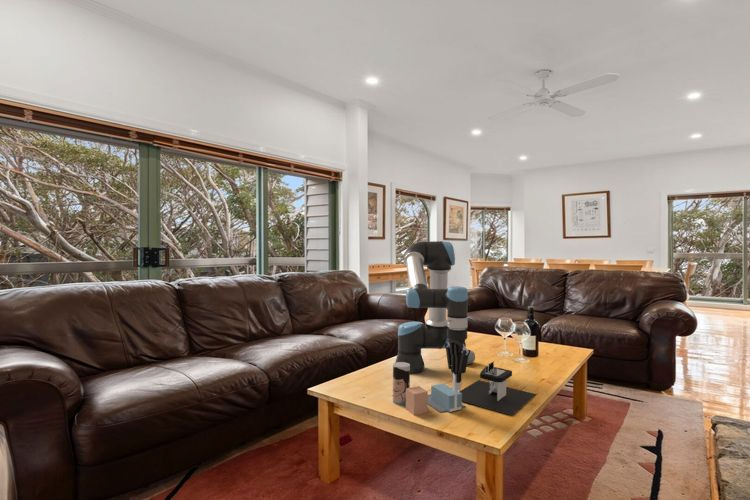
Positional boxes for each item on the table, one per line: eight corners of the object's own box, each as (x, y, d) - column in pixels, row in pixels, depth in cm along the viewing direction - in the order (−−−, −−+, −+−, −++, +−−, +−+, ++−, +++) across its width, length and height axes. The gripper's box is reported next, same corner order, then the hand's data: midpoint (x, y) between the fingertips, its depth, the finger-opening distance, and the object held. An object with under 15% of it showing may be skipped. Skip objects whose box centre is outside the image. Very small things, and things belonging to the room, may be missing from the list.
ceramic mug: (476, 364, 212) (476, 349, 211) (465, 367, 207) (465, 352, 207) (460, 359, 220) (460, 345, 220) (450, 362, 215) (450, 348, 215)
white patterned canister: (392, 398, 166) (392, 362, 165) (409, 398, 166) (409, 362, 165) (393, 404, 159) (393, 367, 159) (410, 405, 159) (410, 367, 158)
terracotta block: (405, 409, 155) (405, 388, 155) (419, 406, 158) (419, 386, 157) (413, 415, 150) (413, 394, 149) (427, 412, 152) (427, 391, 152)
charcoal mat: (417, 397, 166) (417, 396, 166) (441, 393, 171) (441, 392, 171) (440, 412, 152) (440, 411, 152) (465, 407, 157) (465, 406, 157)
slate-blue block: (449, 411, 152) (431, 400, 162) (462, 409, 154) (443, 397, 165) (449, 396, 151) (431, 385, 162) (462, 393, 154) (443, 383, 165)
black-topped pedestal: (478, 380, 187) (479, 351, 187) (536, 394, 170) (537, 363, 170) (448, 397, 165) (449, 365, 165) (512, 415, 149) (512, 379, 148)
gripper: (438, 325, 156) (438, 385, 157) (459, 332, 144) (459, 397, 145) (454, 323, 159) (454, 383, 160) (476, 330, 148) (475, 394, 148)
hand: (456, 390), depth 152 cm, fingers closed
